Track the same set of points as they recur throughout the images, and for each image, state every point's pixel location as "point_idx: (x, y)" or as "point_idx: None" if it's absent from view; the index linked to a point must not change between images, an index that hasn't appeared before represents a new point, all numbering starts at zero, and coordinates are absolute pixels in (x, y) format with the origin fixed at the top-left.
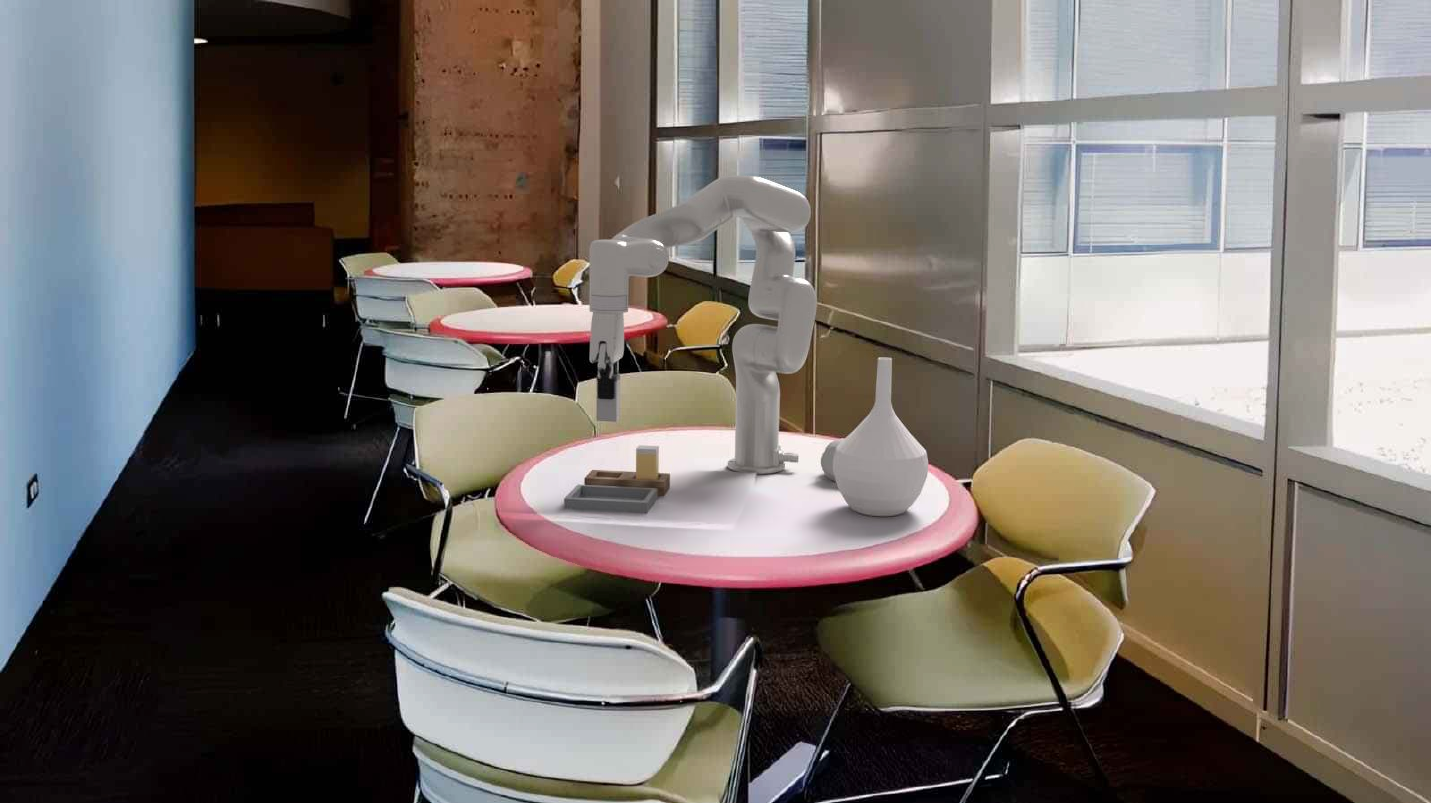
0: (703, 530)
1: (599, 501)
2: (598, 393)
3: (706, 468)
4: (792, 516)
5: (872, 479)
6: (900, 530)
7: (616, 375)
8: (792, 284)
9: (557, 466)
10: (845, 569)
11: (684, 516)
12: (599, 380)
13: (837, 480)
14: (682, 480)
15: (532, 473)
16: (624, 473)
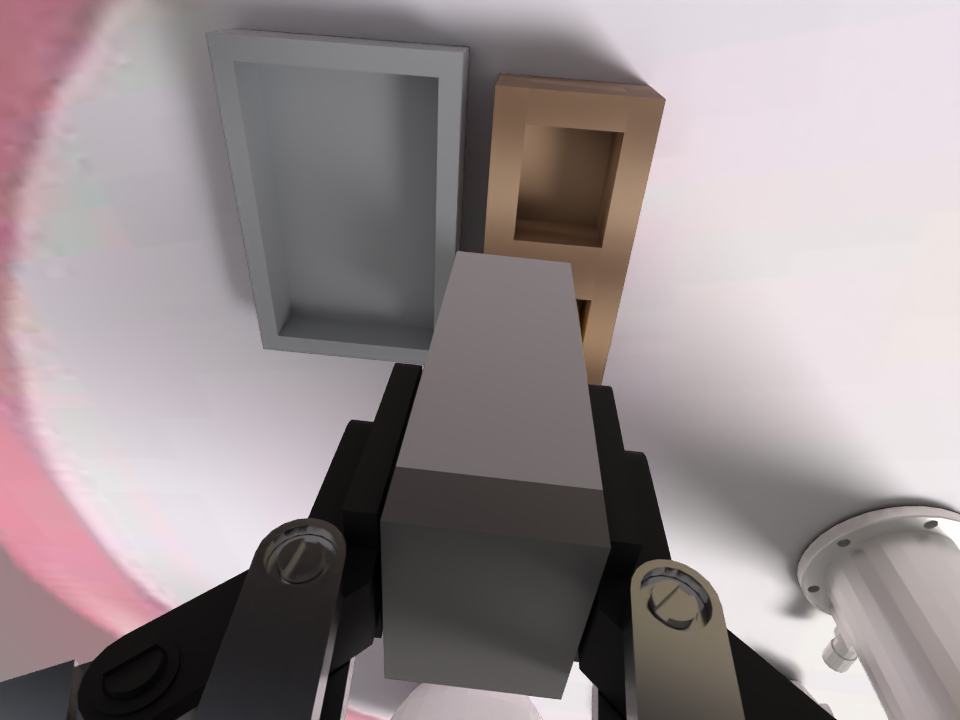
0: (225, 449)
1: (236, 191)
2: (386, 392)
3: (921, 453)
4: None
5: None
6: (349, 695)
7: (453, 677)
8: None
9: None
10: (98, 622)
11: (334, 409)
12: (349, 505)
13: (435, 716)
14: (759, 394)
15: None
16: (593, 255)
